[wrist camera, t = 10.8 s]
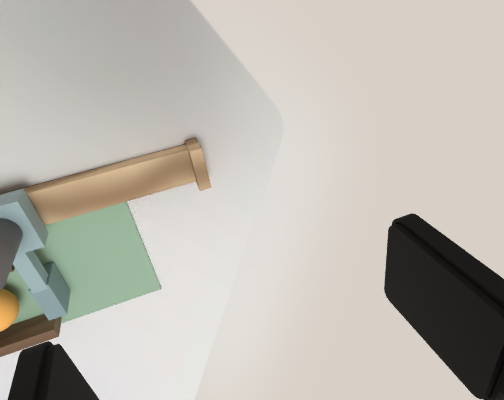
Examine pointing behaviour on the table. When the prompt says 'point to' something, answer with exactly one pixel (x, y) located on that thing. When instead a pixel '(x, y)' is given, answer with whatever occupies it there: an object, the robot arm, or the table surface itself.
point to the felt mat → (92, 263)
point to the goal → (28, 332)
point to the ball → (8, 308)
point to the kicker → (29, 254)
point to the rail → (119, 182)
